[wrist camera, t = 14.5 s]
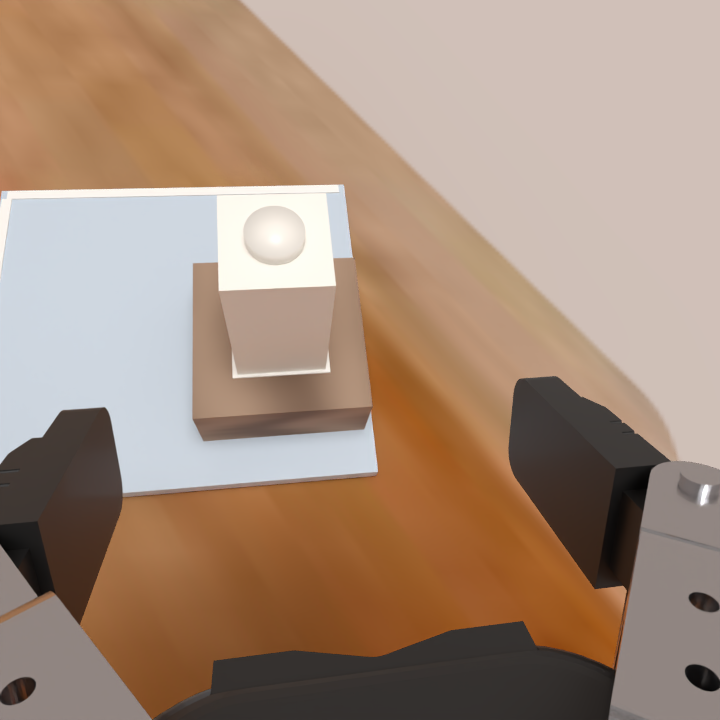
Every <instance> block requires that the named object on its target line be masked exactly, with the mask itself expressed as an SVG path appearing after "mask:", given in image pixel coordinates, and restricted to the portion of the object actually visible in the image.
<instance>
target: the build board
mask: <svg viewBox="0 0 720 720" xmlns="http://www.w3.org/2000/svg"><path fill="white" fill-rule="evenodd" d="M304 193H326V197H327V206H328V215H329V225H330V234H331V243H332V253H333V262H334V271H335V281H336V290H335V298H334V306H333V314H332V322H331V330H330V339H329V347H328V355H327V363H326V369H324V370H308V371H292V372H276V373H260V374H244V375H238V374H237V369H236V365H235V361H234V356H233V352H232V347H231V343H230V339H229V334H228V330H227V325H226V321H225V317H224V312H223V308H222V303H221V299H220V295H219V283H218V232H217V195H260V194H304ZM99 407H105V408H106V409H107V410H108V412H109V415H110V418H111V423H112V428H113V434H114V439H115V445H116V450H117V456H118V461H119V467H120V473H121V478H122V488H123V497H131V496H142V495H154V494H166V493H178V492H190V491H202V490H213V489H225V488H237V487H249V486H261V485H272V484H284V483H296V482H308V481H320V480H331V479H343V478H355V477H367V476H376V474H377V473H378V468H377V459H376V451H375V442H374V434H373V426H372V417H371V409H372V407H373V406H372V398H371V389H370V381H369V373H368V364H367V356H366V348H365V340H364V331H363V323H362V315H361V306H360V298H359V290H358V282H357V273H356V265H355V258H352V249H351V241H350V233H349V224H348V216H347V207H346V199H345V191H344V185H303V186H249V187H196V188H142V189H89V190H35V191H2V194H1V201H0V464H1V462H2V461H3V460H4V458H5V457H6V456H7V455H8V453H10V452H11V451H13V450H14V449H16V448H18V447H19V446H21V445H22V444H24V443H25V442H27V441H28V440H30V439H31V438H40V437H43V435H44V434H45V433H46V431H47V430H48V428H49V427H50V425H51V424H52V423H53V421H54V420H55V418H56V417H57V415H58V414H59V413H60V412H61V411H62V410H71V409H85V408H99Z"/></svg>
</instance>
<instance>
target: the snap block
mask: <svg viewBox="0 0 720 720" xmlns="http://www.w3.org/2000/svg"><path fill="white" fill-rule="evenodd" d="M217 232H218V283H219V295H220V299H221V303H222V308H223V312H224V317H225V321H226V325H227V330H228V334H229V339H230V343H231V347H232V352H233V356H234V361H235V365H236V369H237V374H238V375H244V374H260V373H276V372H292V371H308V370H324V369H326V363H327V355H328V347H329V339H330V330H331V322H332V314H333V306H334V298H335V290H336V281H335V271H334V262H333V253H332V243H331V234H330V225H329V215H328V206H327V197H326V193H304V194H260V195H217Z"/></svg>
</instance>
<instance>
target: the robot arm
mask: <svg viewBox="0 0 720 720" xmlns="http://www.w3.org/2000/svg"><path fill="white" fill-rule="evenodd" d="M621 421H622V420H620V419H619V418H618V417H617V416H616V415H614V414H613V413H612V412H611V411H610V410H608V409H607V408H606V407H604V406H601V405H599V404H597V403H595V402H593V401H590V400H588V399H586V398H584V397H580V396H579V395H578V394H577V393H576V392H575V391H573V390H572V389H571V388H570V387H569V386H568V385H566V384H565V383H564V382H563V381H562V380H561V379H559V378H558V377H556V376H552V377H538V378H523V379H519V380H518V381H517V383H516V385H515V388H514V395H513V406H512V416H511V427H510V437H509V460H510V465H511V469H512V472H513V474H514V476H515V478H516V479H517V481H518V482H519V483H520V485H521V486H522V488H523V489H524V490H525V492H526V493H527V495H528V496H529V497H530V499H531V500H532V502H533V503H534V504H535V506H536V507H537V509H538V510H539V511H540V513H541V514H542V516H543V517H544V518H545V520H546V521H547V523H548V524H549V525H550V527H551V528H552V530H553V531H554V532H555V534H556V535H557V537H558V538H559V539H560V541H561V542H562V544H563V545H564V546H565V548H566V549H567V551H568V552H569V553H570V555H571V556H572V558H573V559H574V560H575V562H576V563H577V565H578V566H579V567H580V569H581V570H582V572H583V573H584V574H585V576H586V577H587V579H588V580H589V581H590V583H591V584H592V586H593V587H594V588H595V589H599V588H608V587H616V586H624V587H625V588H626V590H627V593H626V598H625V603H624V608H623V614H622V619H621V625H620V630H619V635H618V641H617V646H616V652H615V657H614V663H613V668H610V667H608V666H606V665H604V664H602V663H600V662H597V661H595V660H592V659H589V658H587V657H584V656H582V655H578V654H575V653H571V652H568V651H565V650H560V649H555V648H550V647H545V646H536V645H535V643H534V641H533V640H532V638H531V636H530V634H529V632H528V630H527V628H526V626H525V624H524V622H523V621H520V622H513V623H505V624H497V625H489V626H481V627H474V628H466V629H458V630H451V631H448V632H445V633H443V634H440V635H437V636H435V637H432V638H429V639H427V640H424V641H421V642H419V643H416V644H413V645H411V646H408V647H405V648H402V649H400V650H397V651H394V652H392V653H389V654H386V655H383V656H379V657H362V656H351V655H339V654H328V653H316V652H305V651H286V652H279V653H271V654H263V655H255V656H247V657H240V658H232V659H224V660H216V661H214V663H213V674H212V685H211V689H208V690H206V691H203V692H200V693H198V694H196V695H194V696H192V697H190V698H188V699H185V700H183V701H181V702H179V703H178V704H176V705H174V706H173V707H171V708H169V709H168V710H166V711H165V712H163V713H161V714H160V715H158V716H157V717H155V718H154V719H153V720H720V470H719V469H716V468H713V467H710V466H707V465H702V464H699V463H693V462H685V461H672V462H671V461H670V460H669V459H667V458H666V457H665V456H664V455H663V454H661V453H660V452H659V451H658V450H657V449H655V448H654V447H653V446H652V445H651V444H649V443H648V442H647V441H646V440H645V439H643V438H642V437H641V436H640V435H638V434H635V433H634V430H632V429H631V428H630V427H629V426H628V425H626V424H625V423H622V422H621ZM122 498H123V488H122V478H121V473H120V467H119V461H118V456H117V450H116V445H115V439H114V434H113V428H112V423H111V418H110V415H109V412H108V410H107V409H106V408H105V407H99V408H85V409H71V410H62V411H61V412H60V413H59V414H58V415H57V417H56V418H55V420H54V421H53V423H52V424H51V425H50V427H49V428H48V430H47V431H46V433H45V434H44V435H43V437H40V438H31V439H30V440H28V441H27V442H25V443H24V444H22V445H21V446H19V447H18V448H16V449H14V450H13V451H11V452H10V453H8V455H7V456H6V457H5V458H4V460H3V461H2V462H1V464H0V720H152V719H151V718H150V716H149V715H148V714H147V713H146V711H145V710H144V709H143V707H142V706H141V705H140V703H139V702H138V701H137V700H136V698H135V697H134V696H133V694H132V693H131V692H130V690H129V689H128V688H127V687H126V685H125V684H124V683H123V681H122V680H121V679H120V677H119V676H118V675H117V673H116V672H115V671H114V670H113V668H112V667H111V666H110V664H109V663H108V662H107V660H106V659H105V658H104V657H103V655H102V654H101V653H100V651H99V650H98V649H97V647H96V646H95V645H94V644H93V642H92V641H91V640H90V638H89V637H88V636H87V634H86V633H85V632H84V631H83V629H82V628H81V627H80V622H81V620H82V617H83V614H84V611H85V609H86V606H87V603H88V600H89V598H90V595H91V592H92V589H93V587H94V584H95V581H96V578H97V576H98V573H99V570H100V567H101V565H102V562H103V559H104V556H105V554H106V551H107V548H108V545H109V543H110V540H111V537H112V534H113V532H114V529H115V526H116V523H117V521H118V518H119V515H120V512H121V508H122Z"/></svg>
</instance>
